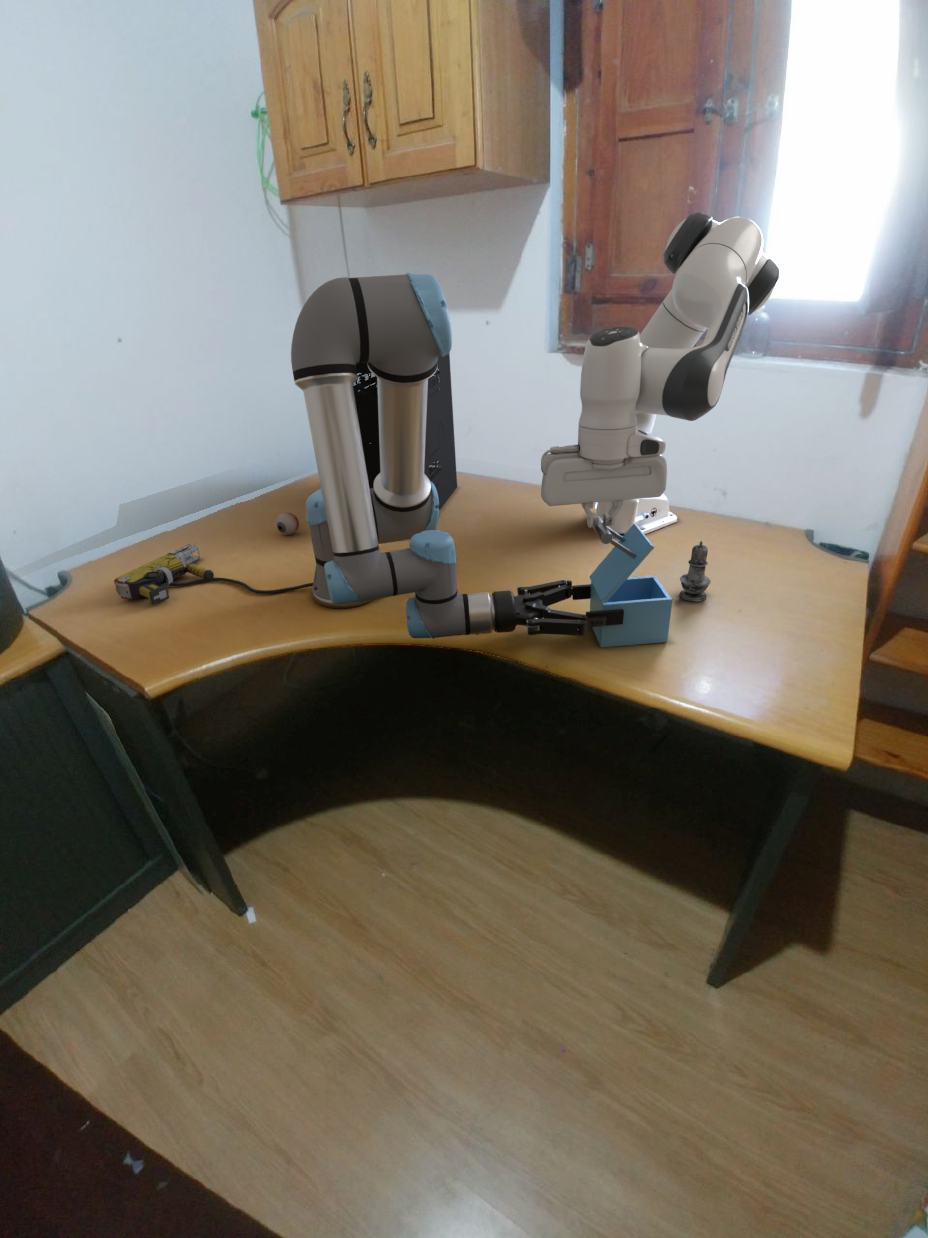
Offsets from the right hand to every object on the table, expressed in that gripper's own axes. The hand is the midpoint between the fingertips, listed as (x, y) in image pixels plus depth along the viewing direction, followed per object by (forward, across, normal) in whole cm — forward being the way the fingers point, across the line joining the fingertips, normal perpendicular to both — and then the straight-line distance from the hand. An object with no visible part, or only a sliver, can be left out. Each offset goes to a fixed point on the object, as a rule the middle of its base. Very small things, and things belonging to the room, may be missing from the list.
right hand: (600, 525), depth 102 cm
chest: (+22, +6, 0) cm, 23 cm away
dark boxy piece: (+21, -32, +80) cm, 89 cm away
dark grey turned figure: (+22, +24, +11) cm, 34 cm away
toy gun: (+22, -87, +41) cm, 99 cm away
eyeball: (+22, -65, +66) cm, 95 cm away
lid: (+8, +4, 0) cm, 9 cm away
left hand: (+15, +4, 0) cm, 16 cm away
